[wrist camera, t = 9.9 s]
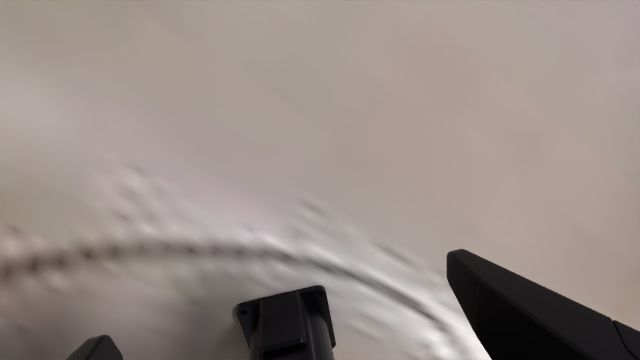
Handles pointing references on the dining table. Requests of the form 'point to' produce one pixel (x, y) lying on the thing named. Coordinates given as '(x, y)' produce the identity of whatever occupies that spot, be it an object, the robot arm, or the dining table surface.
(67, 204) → the dining table surface
